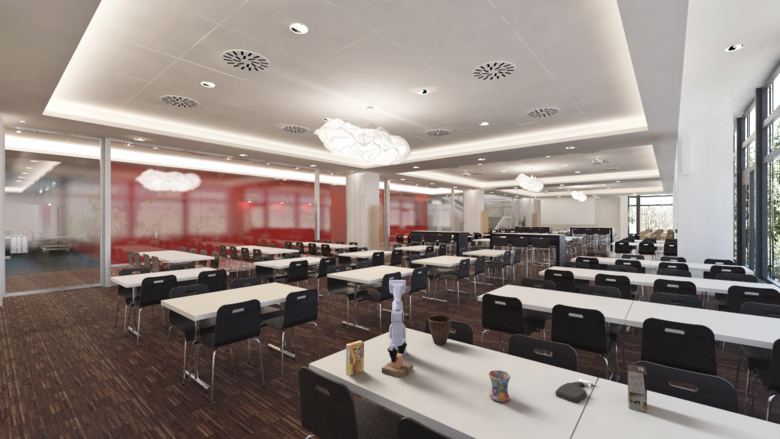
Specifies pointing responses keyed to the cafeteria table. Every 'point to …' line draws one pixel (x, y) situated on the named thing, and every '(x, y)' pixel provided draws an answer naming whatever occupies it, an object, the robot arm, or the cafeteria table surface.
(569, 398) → the spray bottle
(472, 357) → the cafeteria table surface
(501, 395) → the mug
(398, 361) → the terracotta block
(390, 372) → the walnut base
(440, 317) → the plant pot
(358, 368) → the candy box
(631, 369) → the coffee box
